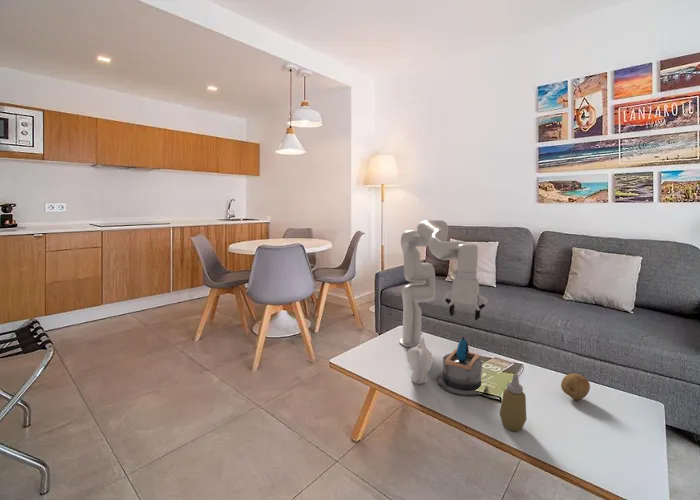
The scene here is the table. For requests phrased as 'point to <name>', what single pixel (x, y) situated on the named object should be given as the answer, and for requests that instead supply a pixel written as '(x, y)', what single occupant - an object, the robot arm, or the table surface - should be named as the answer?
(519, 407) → the squeeze bottle
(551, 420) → the table surface
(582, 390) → the natural sponge
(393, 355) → the table surface
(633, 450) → the table surface
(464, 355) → the ornament
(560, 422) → the table surface
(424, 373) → the shell sculpture
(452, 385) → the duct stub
